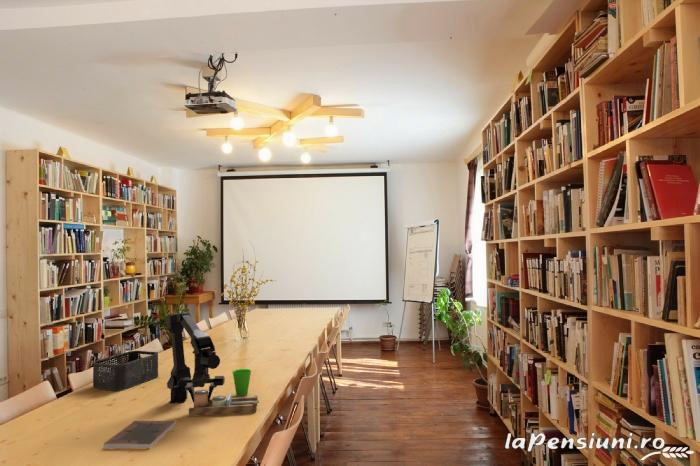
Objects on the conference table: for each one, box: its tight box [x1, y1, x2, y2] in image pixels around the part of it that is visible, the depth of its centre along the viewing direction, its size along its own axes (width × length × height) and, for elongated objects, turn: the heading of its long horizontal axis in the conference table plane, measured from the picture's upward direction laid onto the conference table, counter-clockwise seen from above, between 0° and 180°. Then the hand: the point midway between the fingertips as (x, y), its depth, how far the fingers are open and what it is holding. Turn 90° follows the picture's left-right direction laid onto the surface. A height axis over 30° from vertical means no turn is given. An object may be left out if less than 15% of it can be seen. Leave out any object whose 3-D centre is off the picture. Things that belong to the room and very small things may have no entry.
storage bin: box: [92, 350, 159, 392], centre depth 239 cm, size 29×19×13 cm
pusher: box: [226, 393, 260, 406], centre depth 195 cm, size 13×8×5 cm, turn 98°
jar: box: [193, 389, 209, 407], centre depth 193 cm, size 6×6×5 cm
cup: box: [231, 368, 252, 397], centre depth 215 cm, size 9×9×11 cm
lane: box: [188, 395, 259, 417], centre depth 194 cm, size 27×11×4 cm, turn 98°
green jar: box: [211, 394, 226, 407], centre depth 194 cm, size 6×6×5 cm
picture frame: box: [102, 420, 177, 450], centre depth 167 cm, size 16×2×22 cm
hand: (201, 401), depth 193 cm, fingers closed on jar, 6 cm apart
